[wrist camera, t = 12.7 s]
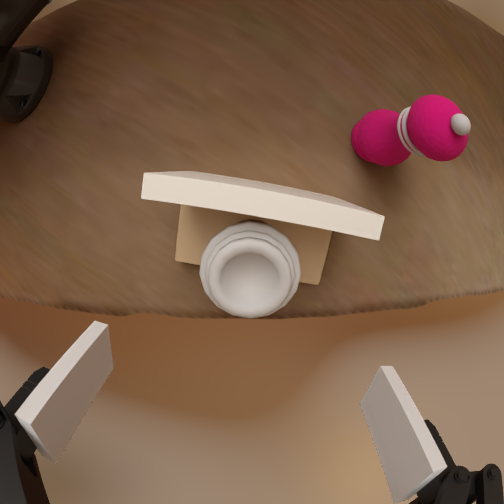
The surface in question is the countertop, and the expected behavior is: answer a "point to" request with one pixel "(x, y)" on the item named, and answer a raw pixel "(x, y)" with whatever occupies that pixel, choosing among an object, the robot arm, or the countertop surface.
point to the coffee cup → (250, 269)
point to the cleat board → (257, 214)
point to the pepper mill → (412, 132)
